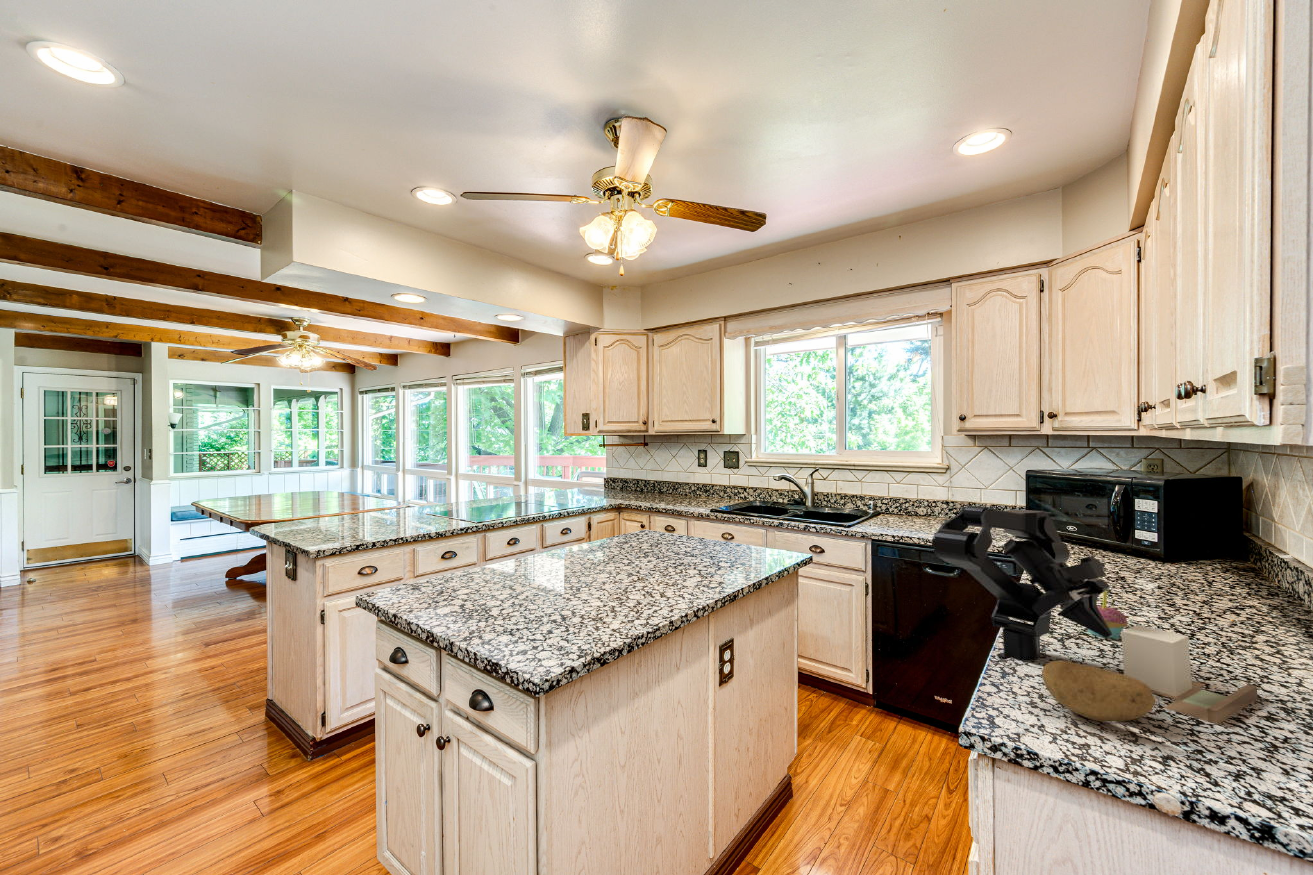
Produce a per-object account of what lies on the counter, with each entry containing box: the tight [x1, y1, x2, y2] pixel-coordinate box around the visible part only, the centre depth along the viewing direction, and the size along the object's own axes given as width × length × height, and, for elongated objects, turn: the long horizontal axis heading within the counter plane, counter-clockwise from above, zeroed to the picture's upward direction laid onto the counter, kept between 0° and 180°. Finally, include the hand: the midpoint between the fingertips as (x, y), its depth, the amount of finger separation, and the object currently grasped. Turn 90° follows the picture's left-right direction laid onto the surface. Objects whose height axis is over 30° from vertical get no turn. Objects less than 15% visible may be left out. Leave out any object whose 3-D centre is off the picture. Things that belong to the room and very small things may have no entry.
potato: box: [1041, 660, 1156, 723], centre depth 85 cm, size 10×14×8 cm
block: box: [1120, 624, 1192, 697], centre depth 92 cm, size 7×6×9 cm
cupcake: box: [1086, 589, 1128, 640], centre depth 117 cm, size 9×8×12 cm
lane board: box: [1150, 679, 1259, 725], centre depth 90 cm, size 15×16×3 cm
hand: (1109, 636), depth 99 cm, fingers closed
